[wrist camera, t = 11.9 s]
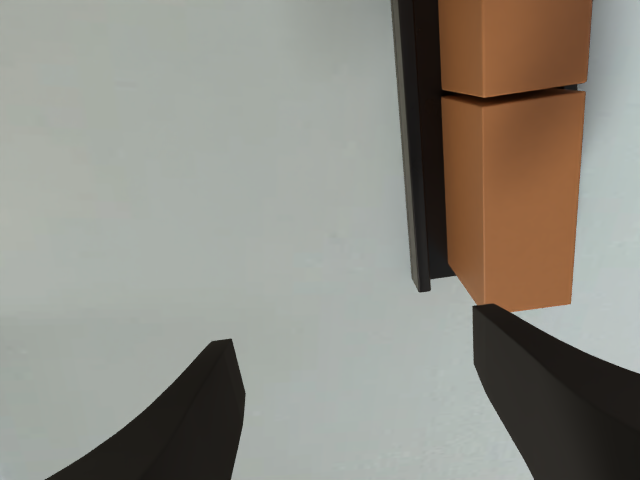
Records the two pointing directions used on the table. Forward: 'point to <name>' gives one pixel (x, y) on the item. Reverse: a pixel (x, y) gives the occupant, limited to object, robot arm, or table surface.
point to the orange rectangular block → (513, 194)
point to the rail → (423, 135)
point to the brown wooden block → (513, 45)
